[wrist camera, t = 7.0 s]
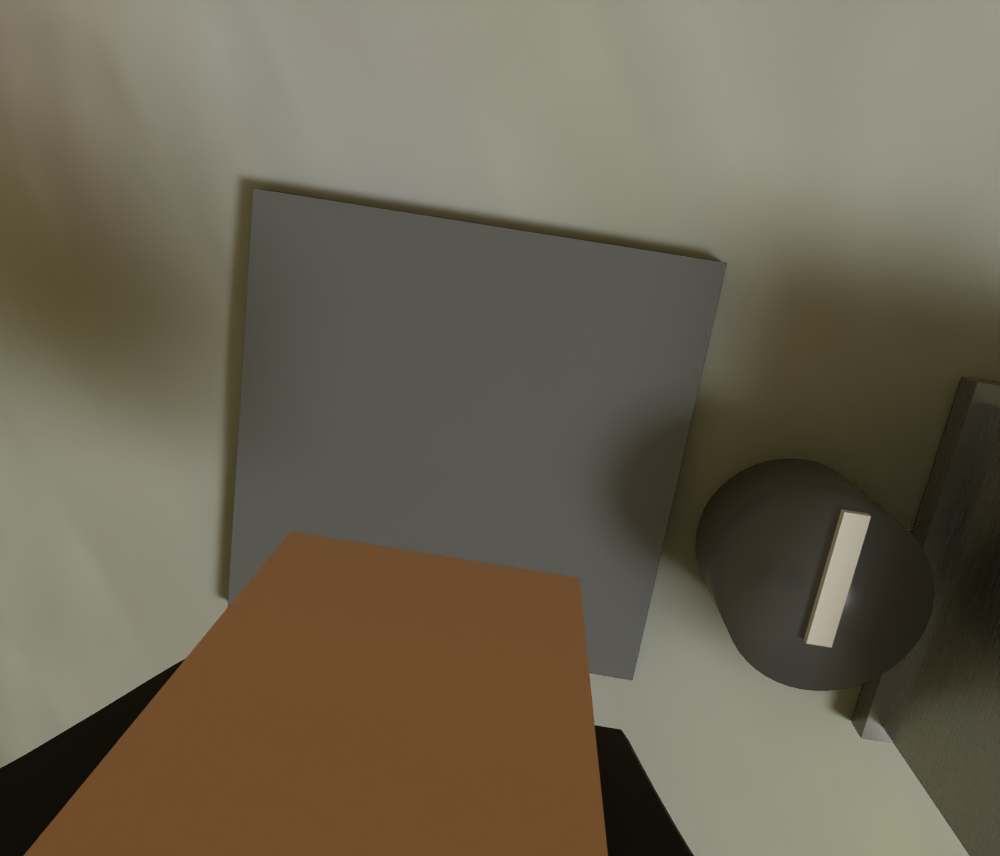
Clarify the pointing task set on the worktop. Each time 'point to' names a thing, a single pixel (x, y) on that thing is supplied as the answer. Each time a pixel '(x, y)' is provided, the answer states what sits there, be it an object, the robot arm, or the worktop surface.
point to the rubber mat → (468, 398)
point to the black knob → (812, 575)
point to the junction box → (954, 633)
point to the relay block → (361, 720)
